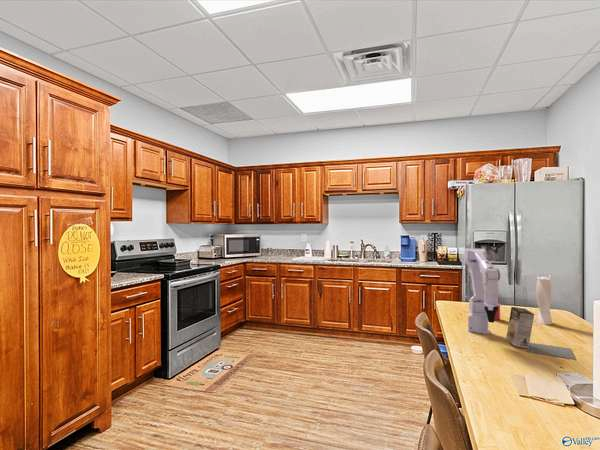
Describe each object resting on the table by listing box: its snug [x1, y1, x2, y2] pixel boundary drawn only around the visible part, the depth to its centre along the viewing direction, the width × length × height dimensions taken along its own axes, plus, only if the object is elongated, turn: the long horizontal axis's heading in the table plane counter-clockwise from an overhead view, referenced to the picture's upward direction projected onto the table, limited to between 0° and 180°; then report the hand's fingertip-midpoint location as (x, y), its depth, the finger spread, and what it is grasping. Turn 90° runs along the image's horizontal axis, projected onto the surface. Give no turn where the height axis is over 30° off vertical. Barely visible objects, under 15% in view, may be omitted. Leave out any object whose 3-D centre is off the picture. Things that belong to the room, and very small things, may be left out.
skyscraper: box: [533, 274, 555, 326], centre depth 194 cm, size 8×8×28 cm
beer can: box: [494, 298, 501, 321], centre depth 203 cm, size 7×7×12 cm
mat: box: [525, 342, 577, 361], centre depth 152 cm, size 17×14×1 cm
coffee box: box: [506, 306, 535, 349], centre depth 159 cm, size 9×6×16 cm
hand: (491, 322), depth 164 cm, fingers closed
